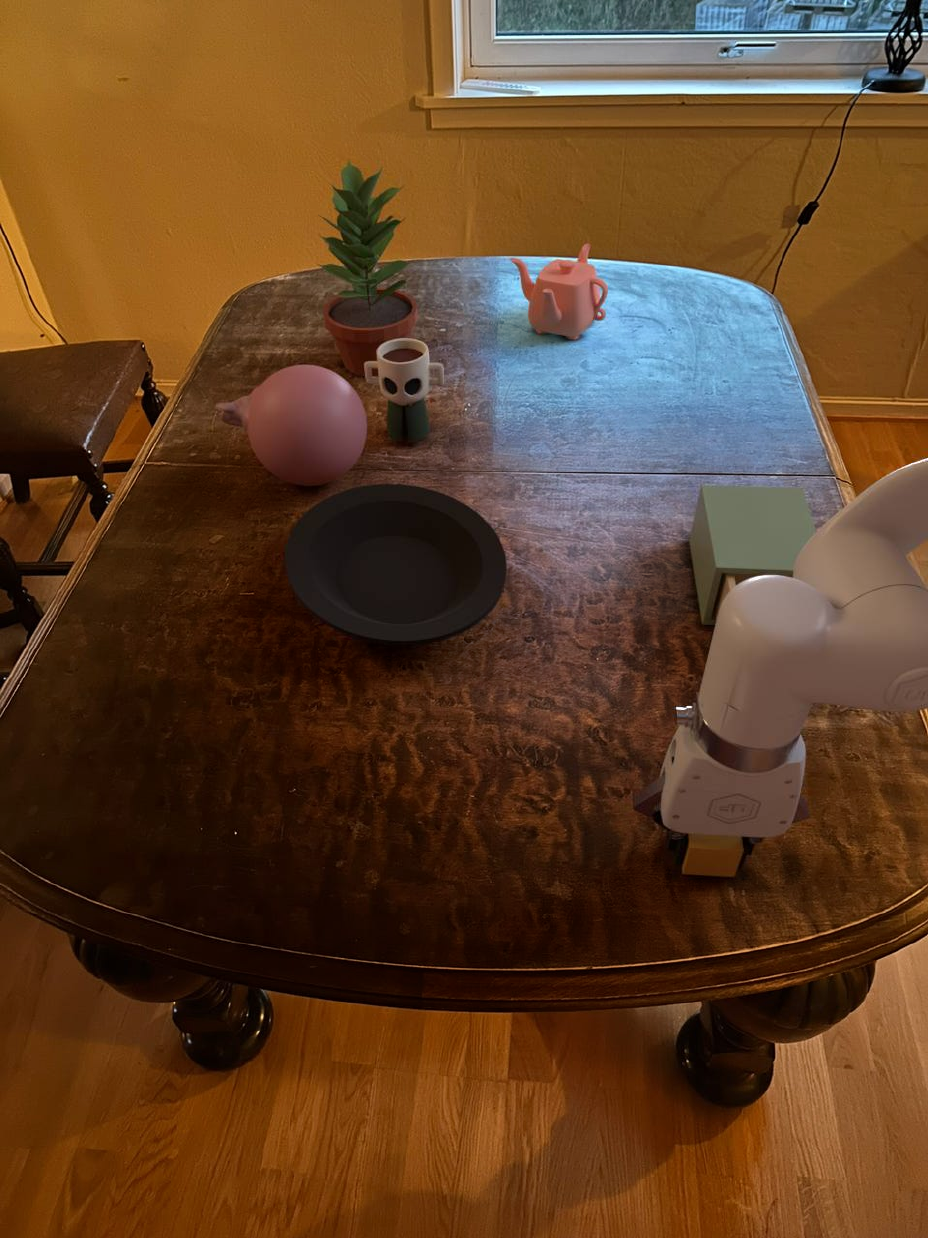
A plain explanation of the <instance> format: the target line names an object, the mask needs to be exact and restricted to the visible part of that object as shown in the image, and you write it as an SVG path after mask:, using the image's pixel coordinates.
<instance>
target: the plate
mask: <svg viewBox="0 0 928 1238" xmlns="http://www.w3.org/2000/svg"><path fill="white" fill-rule="evenodd" d="M284 567H285V572H286V575H287V579H288V583H289V585H290V587H291V590H292V592H293V593H294V595H295V597H296V598H297V600H298V601H299V602H300V604H302V606H303V607H304V608H305V609H306V610H307V611H308V612H309V613H310V614H311V615H312V616H313V617H315V619H317V620H318V621H320V622H321V623H323V624H324V625H325V626H327V627H329V628H331V629H333V630H334V631H336V632H339V633H341V634H343V635H344V636H347V637H351V638H353V639H357V640H358V641H359V640H360V641H364V642H368V643H370V644H371V643H372V644H378V645H385V646H386V645H387V646H398V647H400V646H401V647H408V646H421V645H428V644H433V643H438V642H441V641H445V640H448V639H451V638H453V637H456V636H458V635H461V634H463V633H464V632H466V631H468V630H470V629H472V628H473V627H475V626H476V625H478V624H479V623H480V622H481V621H482V620H484V619H485V618H486V617H487V616H488V615H489V614H490V613H491V612H492V611H493V610H494V608H495V607H496V605H497V604H498V602H499V601H500V599H501V597H502V596H503V595H502V594H503V592H504V590H505V586H506V582H507V568H508V567H507V558H506V553H505V549H504V546H503V544H502V542H501V539H500V537H499V536H498V534H497V533H496V531H495V530H494V528H493V527H492V526H491V524H490V523H489V522H487V520H486V519H485V518H484V517H483V516H481V514H479V512H477V511H476V510H475V509H473V508H471V507H470V506H468V505H467V504H465V503H464V502H462V501H460V500H458V499H456V498H454V497H452V496H450V495H448V494H445V493H443V492H440V491H437V490H433V489H430V488H428V487H427V488H426V487H421V486H417V485H410V484H403V483H401V484H400V483H379V484H367V485H362V486H357V487H352V488H349V489H345V490H343V491H339V492H337V493H335V494H332V495H330V496H328V497H326V498H324V499H322V500H321V501H319V502H318V503H316V504H315V505H313V506H311V508H309V509H308V510H307V511H306V512H305V513H304V514H303V515H301V517H300V518H299V519H298V520H297V522H296V523H295V525H294V526H293V527H292V529H291V531H290V534H289V536H288V538H287V540H286V543H285V548H284Z"/></svg>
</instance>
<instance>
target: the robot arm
mask: <svg viewBox="0 0 928 1238" xmlns="http://www.w3.org/2000/svg"><path fill="white" fill-rule="evenodd" d="M926 541H928V457H927V458H924V459H923V458H922V459H920V460H917V461H915V462H912V463H908V464H907V465H905V466H903V467H900V468H898V469H895V470H893V471H892V472H890V473H888V474H887V475H885V476H883V477H882V478H881V479H878V480H877V481H876V482H874V483H873V484H871V485H870V486H869V487H867V488H866V489H865V490H864V491H862V492H861V493H860V494H859V495H857V496H856V497H855V498H854V499H852V500H851V501H850V502H849V503H848V504H846V505H845V506H843V507H842V508H841V510H839V511H838V512H836V513H835V514H834V515H833V516H832V517H831V518H829V519H828V520H827V521H826V522H825V523H824V524H823V525H822V526H821V527H820V528H819V529H818V530H816V533H815V534H814V535H813V536H812V537H811V538H810V539H809V540H808V542H807V543H806V544H805V546H804V547H803V548H802V550H801V551H800V553H799V555H798V557H797V559H796V561H795V565H794V570H793V578H791V577H786V576H780V575H762V576H756V577H753V578H749V579H747V580H745V581H743V582H741V583H739V584H738V585H736V586H735V587H734V588H732V589H731V590H730V592H729V593H728V594H727V595H726V597H725V598H724V600H723V602H722V604H721V607H720V610H719V613H718V617H717V621H716V625H714V630H713V634H712V638H711V643H710V646H709V651H708V655H707V659H706V663H705V668H704V671H703V676H702V679H701V683H700V688H699V692H695V697H694V700H693V702H692V703H691V704H689V705H685V706H684V707H680V706H679V707H678V706H676V707H675V709H674V712H673V713H674V714H673V715H674V717H673V719H674V725H675V726H678V728H677V730H676V731H675V733H674V735H673V737H672V740H671V742H670V744H669V745H668V749H667V751H666V754H665V756H664V760H663V763H662V765H661V769H660V774H659V777H658V778H657V779H655V780H653V781H652V782H650V783H649V784H647V785H646V786H644V787H643V788H641V789H640V790H638V791H636V792H635V793H633V794H632V809H633V810H634V811H635V812H637V813H639V814H641V815H643V816H645V817H647V818H649V817H650V818H652V821H653V822H654V823H655V824H657V825H658V826H660V827H661V828H663V829H664V830H666V833H665V849H666V851H667V852H668V851H669V852H672V856H673V857H672V858H673V865H674V866H682V864H683V860H684V857H685V853H686V850H687V846H688V833H691V834H705V835H722V836H741V837H742V843H743V849H744V851H743V854H742V857H741V859H740V862H739V865H738V867H737V870H738V869H739V870H742V869H743V868H744V864H745V862H746V859H747V857H748V856H752V853H753V852H754V849H755V846H756V845H758V844H762V843H763V842H764V840H765V838H773V837H779V836H781V835H784V834H785V833H786V832H787V831H788V830H789V829H790V828H791V825H792V824H795V823H799V822H802V821H806V820H809V819H810V817H811V814H810V810H809V809H810V808H809V804H808V802H807V800H806V799H805V798H804V797H803V796H802V795H801V791H802V787H803V781H804V775H805V769H806V755H807V751H806V743H805V741H804V739H803V736H802V732H803V729H804V727H805V724H806V722H807V719H808V716H809V714H810V711H811V709H812V706H813V704H814V703H816V704H823V705H824V704H825V705H831V706H832V705H833V706H840V707H848V708H855V709H861V710H868V711H877V712H887V713H888V712H890V713H903V712H904V713H905V712H906V713H907V712H918V711H923V710H926V709H928V586H927V585H926V583H925V582H924V580H923V579H922V577H920V575H919V574H918V572H917V570H916V569H915V568H914V566H913V564H911V561H910V560H909V559H908V557H907V556H908V555H909V554H910V553H913V551H915V550H916V549H917V548H918V547H920V546H921V545H923V544H924V543H925V542H926Z"/></svg>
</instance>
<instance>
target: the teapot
mask: <svg viewBox="0 0 928 1238" xmlns="http://www.w3.org/2000/svg"><path fill="white" fill-rule="evenodd" d="M590 250H591V244H590V243H589V242H588V243H585V244H583V246H582V247H581V249H580V252H579V255H578V257H577V260H576V261H574V260H571V259H559V258H557V259H554V260H552V261H549V263H548V264H546V265H545V266H543V268H542V269H541V270H540V272H539V273H538V275H537V277H536V279H535V282H534V281H533V279H532V278H531V275H530V272H529V268H528V266H527V265H526V263H525V262H524V261H523V260H521V259H519V258H516V257H509V260H510V261H511V262H512V263H513V264H514V265H515V266H516V268H517V269H518V272H519V278H520V286H521V292H522V294H523V296H524V298H525V299H526V300H527V301H528V302H529V303H528V309H527V317H528V319H527V320H528V321H529V324H530V326H531V328H532V329H534V330H536V332H537V333H538V334H542V335H543V334H554V335H560V336H565V337H566V339H568V340H577V339H579V338H580V335H582V334H583V333H584V332H586V331H587V330H588V329H589V328H590V327H591V326H592V324H593V323H594V321H596V322H601V321H604V320H605V318H606V316H607V313H606V310H605V308H601V307H602V306H603V304H604V303H605V301H606V299H607V298H608V294H609V287H608V284H607V283H606V281H604V280H603V279H602V278H600V277H598V274H597V270H596V267H595V266H594V264H589V263H588V259H589V258H588V257H589V252H590ZM599 313H600V314H599Z"/></svg>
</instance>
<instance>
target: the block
mask: <svg viewBox="0 0 928 1238" xmlns="http://www.w3.org/2000/svg"><path fill="white" fill-rule="evenodd" d="M743 851H744V849H743V843H742V837H741V836H722V835H705V834H691V833H688V846H687V850H686V853H685V857H684V860H683V864H681V872H682V875H693V876H709V877H727V878H729V877H730V878H734V877H735V876H736V873H737V871H738V869H737V867H738V865H739V862H740V859H741V857H742V854H743Z"/></svg>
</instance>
